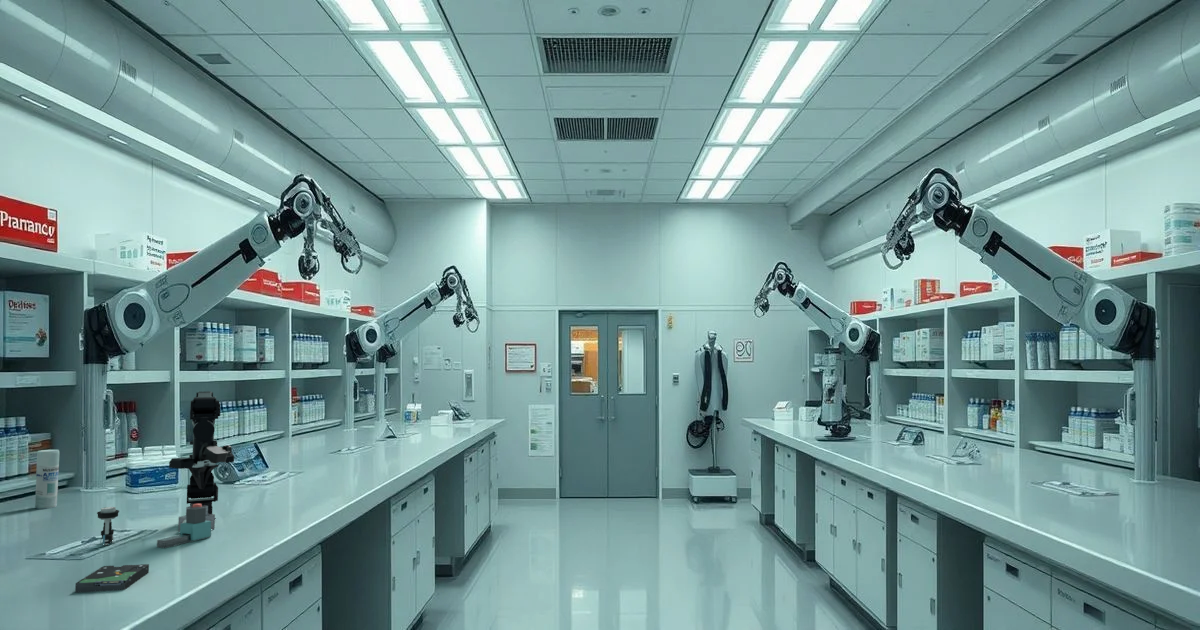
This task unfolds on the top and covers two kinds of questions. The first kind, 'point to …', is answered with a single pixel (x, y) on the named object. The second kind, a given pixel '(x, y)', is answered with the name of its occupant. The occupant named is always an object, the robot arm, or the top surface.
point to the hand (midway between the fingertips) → (201, 488)
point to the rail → (174, 540)
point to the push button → (107, 523)
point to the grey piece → (208, 518)
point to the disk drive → (112, 578)
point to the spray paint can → (47, 479)
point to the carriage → (196, 524)
